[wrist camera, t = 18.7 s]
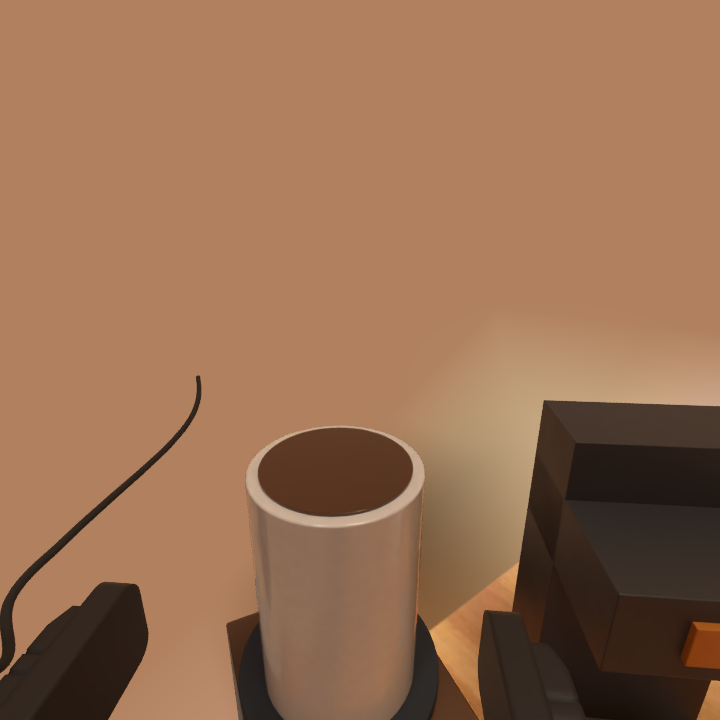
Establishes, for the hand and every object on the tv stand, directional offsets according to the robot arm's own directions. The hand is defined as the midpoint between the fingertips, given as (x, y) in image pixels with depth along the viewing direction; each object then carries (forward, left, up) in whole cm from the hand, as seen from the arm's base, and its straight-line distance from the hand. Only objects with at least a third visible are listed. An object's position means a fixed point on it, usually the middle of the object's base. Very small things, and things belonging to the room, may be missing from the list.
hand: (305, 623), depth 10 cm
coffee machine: (-3, +23, -28) cm, 36 cm away
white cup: (-5, +3, -8) cm, 10 cm away
